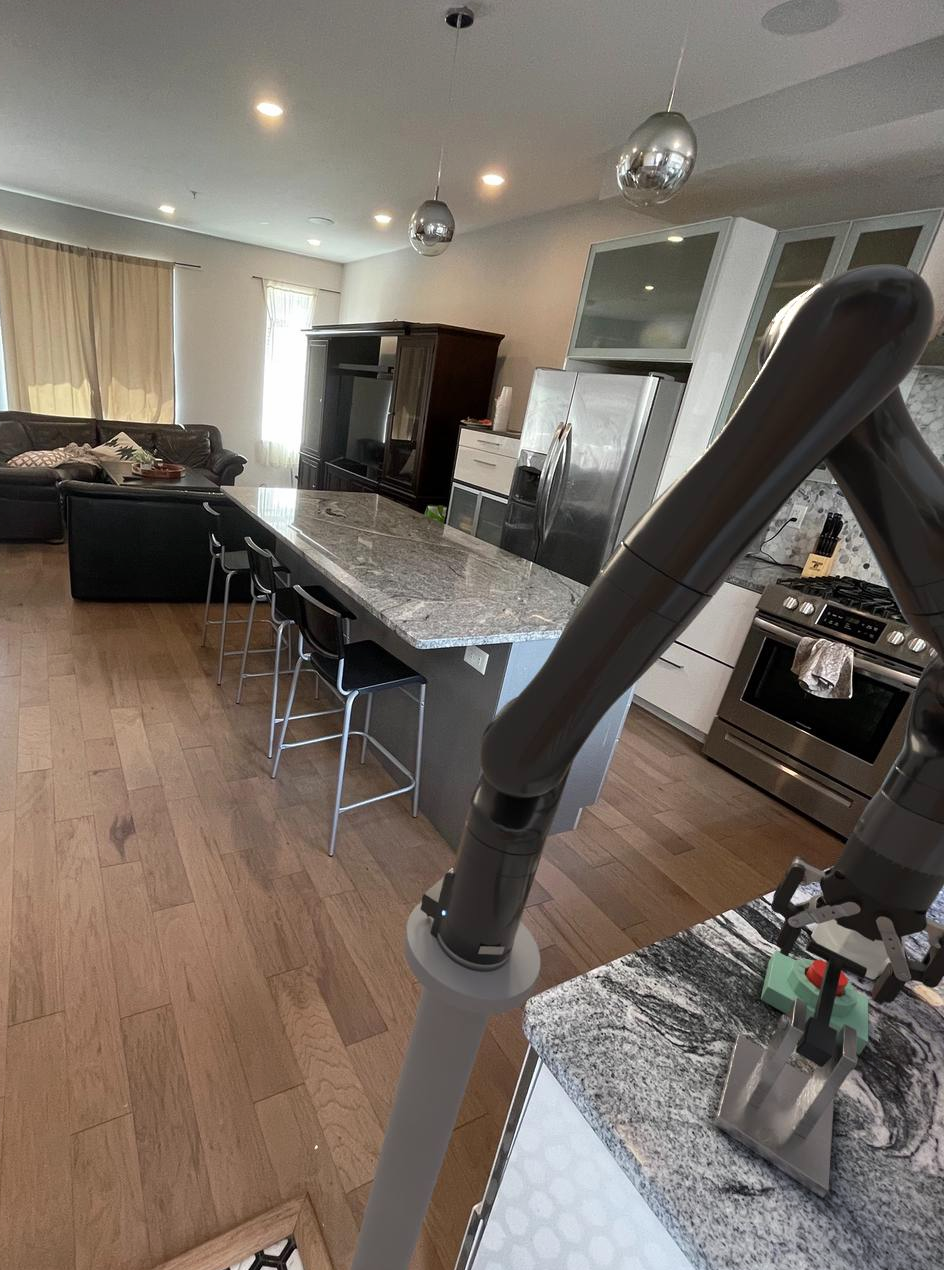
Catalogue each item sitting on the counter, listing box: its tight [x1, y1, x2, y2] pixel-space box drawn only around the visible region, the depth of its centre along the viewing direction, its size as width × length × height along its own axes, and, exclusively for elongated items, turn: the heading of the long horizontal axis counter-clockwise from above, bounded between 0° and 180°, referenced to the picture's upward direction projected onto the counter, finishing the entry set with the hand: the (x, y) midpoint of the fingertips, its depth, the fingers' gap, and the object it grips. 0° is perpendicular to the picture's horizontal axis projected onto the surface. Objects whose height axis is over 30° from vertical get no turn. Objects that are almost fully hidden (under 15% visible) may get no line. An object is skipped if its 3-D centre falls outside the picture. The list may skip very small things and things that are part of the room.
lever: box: [795, 939, 867, 1067], centre depth 61 cm, size 12×5×2 cm, turn 141°
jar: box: [810, 919, 911, 980], centre depth 83 cm, size 9×8×12 cm
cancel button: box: [806, 959, 849, 996], centre depth 74 cm, size 4×4×2 cm
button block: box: [760, 949, 869, 1056], centre depth 75 cm, size 10×8×4 cm
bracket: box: [713, 997, 859, 1199], centre depth 60 cm, size 12×9×12 cm
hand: (828, 973), depth 65 cm, fingers open, 7 cm apart
